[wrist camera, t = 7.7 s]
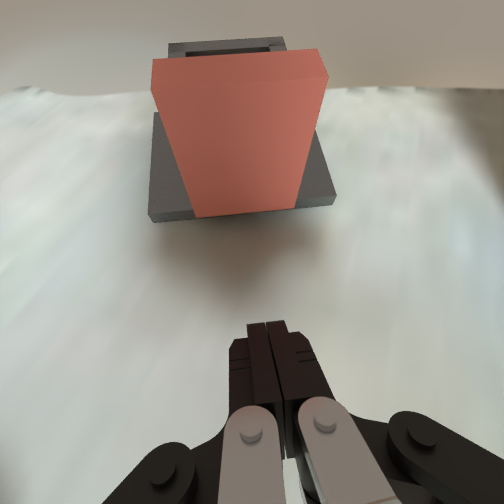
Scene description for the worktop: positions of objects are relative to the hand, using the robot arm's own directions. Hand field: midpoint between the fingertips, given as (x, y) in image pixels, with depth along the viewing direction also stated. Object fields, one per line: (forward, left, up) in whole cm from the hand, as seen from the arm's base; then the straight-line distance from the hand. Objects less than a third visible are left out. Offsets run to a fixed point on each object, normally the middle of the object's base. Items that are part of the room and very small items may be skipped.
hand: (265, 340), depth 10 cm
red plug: (0, -14, -4) cm, 14 cm away
